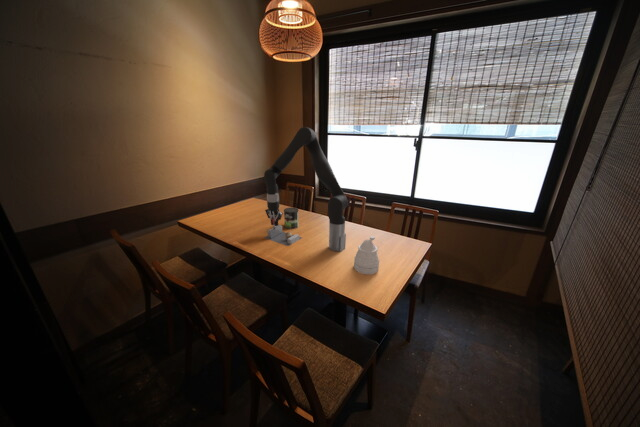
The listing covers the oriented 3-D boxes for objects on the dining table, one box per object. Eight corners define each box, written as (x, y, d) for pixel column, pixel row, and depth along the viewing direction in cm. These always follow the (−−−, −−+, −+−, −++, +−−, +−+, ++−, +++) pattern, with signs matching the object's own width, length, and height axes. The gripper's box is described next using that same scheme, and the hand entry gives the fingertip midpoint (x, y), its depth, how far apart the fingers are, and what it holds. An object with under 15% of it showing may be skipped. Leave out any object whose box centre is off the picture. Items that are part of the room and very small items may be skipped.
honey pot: (375, 260, 138) (377, 231, 132) (381, 274, 126) (384, 242, 120) (352, 261, 138) (353, 231, 132) (356, 274, 126) (358, 243, 120)
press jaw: (282, 232, 169) (281, 216, 165) (271, 238, 160) (269, 221, 156) (279, 231, 170) (278, 215, 166) (267, 237, 162) (266, 220, 158)
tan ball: (293, 237, 159) (293, 231, 158) (289, 239, 156) (288, 234, 155) (288, 236, 162) (288, 230, 160) (284, 238, 158) (284, 232, 157)
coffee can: (293, 232, 174) (293, 213, 169) (281, 229, 178) (280, 210, 173) (301, 226, 182) (301, 208, 178) (290, 224, 187) (289, 206, 182)
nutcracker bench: (302, 239, 163) (302, 233, 161) (288, 248, 152) (288, 241, 150) (278, 232, 173) (278, 226, 172) (263, 239, 162) (263, 233, 161)
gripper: (285, 200, 156) (286, 225, 162) (269, 196, 163) (271, 221, 169) (277, 203, 150) (278, 229, 156) (260, 199, 158) (262, 224, 164)
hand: (274, 225), depth 163 cm, fingers closed on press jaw, 2 cm apart
